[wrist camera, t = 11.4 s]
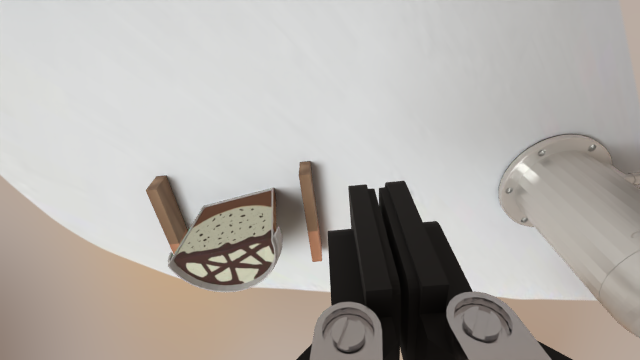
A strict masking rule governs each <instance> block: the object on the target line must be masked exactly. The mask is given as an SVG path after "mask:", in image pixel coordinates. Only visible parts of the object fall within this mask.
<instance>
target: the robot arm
mask: <svg viewBox="0 0 640 360" xmlns="http://www.w3.org/2000/svg"><path fill="white" fill-rule="evenodd" d="M635 185H640V172H637V173H629V174H624V173H622V172H621V171H619V170H618V169H616V168H615V167H613V162H612V159H611V156H610V153H609V152H608V151H607V149H606V148H605V147H604V146H602V145H601V144H600V143H598V142H597V141H595V140H593V139H591V138H589V137H585V136H582V135H572V134H570V135H560V136H556V137H552V138H549V139H546V140H544V141H541V142H539V143H537V144H535V145H534V146H532V147H530V148H528V149H527V150H526V151H524V152H523V153H522V154H521V155H519V156H518V157H517V158H516V159H515V160H514V161H513V162H512V163H511V164H510V166H509V167H508V169H507V170H506V172H505V173H504V175H503V177H502V180H501V182H500V186H499V201H500V205H501V207H502V209H503V210H504V212H505V213H506V214H507V215H508V216H509V217H510V218H511V219H512V220H513V221H515V222H517V223H519V224H521V225H525V226H529V227H535V228H536V229H537V230H538V231H539V232H540V234H541V235H542V236H543V237H544V238H545V239H546V241H547V242H548V243H549V244H550V245H551V246H552V248H553V249H554V250H555V251H556V252H557V253H558V255H559V256H560V257H561V258H562V259H563V260H564V262H565V263H566V264H567V265H568V266H569V267H570V269H571V270H572V271H573V272H574V273H575V274H576V275H577V277H578V278H579V279H580V280H581V281H582V282H583V284H584V285H585V286H586V287H587V288H588V289H589V291H590V292H591V293H592V294H593V295H594V296H595V298H596V299H597V300H598V301H599V302H600V303H601V304H602V306H603V307H604V308H605V309H606V310H607V311H608V312H609V313H610V315H611V316H612V317H613V318H614V319H615V320H616V321H617V322H618V323H619V324H620V325H621V326H623V327H624V328H625V329H626V330H628V331H629V332H631V333H632V334H634V335H636V336H637V337H639V338H640V188H638V187H636V186H635ZM349 202H350V215H351V229H345V230H334V231H328V246H329V266H330V285H331V303H332V306H330V307H329V308H328V309H326V310H325V311H323V313H322V314H321V315H320V317H319V318H318V320H317V323H316V326H315V330H314V336H313V342H312V344H311V345H310V347H308V348H307V349H306V350H305V351H304V352H303V353H302V354H301V355H300V356H299V358H298V359H297V360H399V356H400V348H401V353H402V357H403V360H572V359H570V358H568V357H567V356H565V355H563V354H561V353H559V352H557V351H555V350H554V349H552V348H550V347H548V346H546V345H544V344H542V343H540V342H539V341H537V340H536V339H535V338H534V336H533V335H532V334H531V333H530V331H529V330H528V329H527V327H526V326H525V325H524V324H523V322H522V321H521V320H520V319H519V317H518V316H517V315H516V313H515V312H514V311H513V310H512V309H511V308H510V307H509V306H508V305H507V304H506V303H504V302H503V301H501V300H500V299H498V298H497V297H494V296H491V295H489V294H486V293H481V292H473V291H472V289H471V287H470V285H469V283H468V281H467V279H466V277H465V275H464V273H463V271H462V269H461V267H460V265H459V263H458V261H457V259H456V257H455V255H454V253H453V251H452V249H451V247H450V245H449V243H448V241H447V239H446V237H445V235H444V233H443V231H442V229H441V227H440V225H439V223H438V222H436V221H433V222H422V220H421V217H420V215H419V213H418V210H417V208H416V206H415V204H414V201H413V199H412V197H411V194H410V192H409V190H408V187H407V185H406V183H405V181H397V182H387V183H386V184H385V187H384V188H379V204H378V201H377V197H376V194H375V190H374V189H368V188H367V185H356V186H349Z"/></svg>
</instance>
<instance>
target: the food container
mask: <svg viewBox="0 0 640 360" xmlns="http://www.w3.org/2000/svg"><path fill="white" fill-rule="evenodd" d="M282 241H283V240H282V233H281V230H280V227H279V226H278V227H277V230H276V194H275V191H274V188H270V189H267V190H263V191H259V192H255V193H251V194H247V195H244V196H240V197H236V198H232V199H228V200H224V201H221V202H217V203H213V204H209V205H205V206H203V208H202V209H201V211H200V212H199V214H198V216H197V217H196V219H195V221H194V222H193V224H192V226H191V227H190V229H189V231H188V232H187V234H186V235H185V237H184V239H183V240H182V242H181V244H180V245H179V247H178V249H177V250H176V252H175V254H174V255H173V254H172V252H171V253H170V255H169V259H168V263H169V264H168V267H169V268H170V269H171V270H172V271H173V272H174V273H175V274H176V275H177V276H178V277H180V278H181V279H183V280H184V281H186V282H188V283H190V284H192V285H194V286H196V287H199V288H202V289H206V290H210V291H216V292H235V291H241V290H245V289H248V288H251V287H253V286H255V285H257V284H258V283H260V282H262V281H263V280H264V279H265V278H266V277H267V276H268V275H269V274H270V272H271V271H272V270H273V269H274V267H275V265H276V263H277V260H278V258H279V256H280V253H281V250H282Z"/></svg>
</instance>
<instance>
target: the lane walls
mask: <svg viewBox="0 0 640 360" xmlns="http://www.w3.org/2000/svg"><path fill="white" fill-rule="evenodd" d="M299 179H300V185H301V192H302V198H303V204H304V211H305V217H306V223H307V229H308V236H309V242H310V248H311V255H312V261H313V262H316V261H322V245H321V238H320V230H319V223H318V216H317V208H316V201H315V194H314V186H313V179H312V172H311V164H310V161H308V162H300V168H299ZM146 192H147V194H148V197H149V199H150V201H151V203H152V206H153V208H154V210H155V213H156V215H157V217H158V219H159V222H160V224H161V226H162V228H163V231H164V233H165V235H166V238H167V240H168V242H169V244H170V247H171V249H172V251H173V254H175V252H176V250H177V249H178V247H179V245H180V244H181V242H182V240H183V239H184V237H185V235H186V234H187V232H188V230H187V228H186V225H185V222H184V220H183V217H182V215H181V212H180V210H179V207H178V205H177V202H176V199H175V197H174V194H173V192H172V189H171V187H170V184H169V182H168V179H167V177H166V176H158V177H156V178H155V179H154V180H153V182H152V183H151V184H150V186H149V187H148V188H147V189H146Z"/></svg>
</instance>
